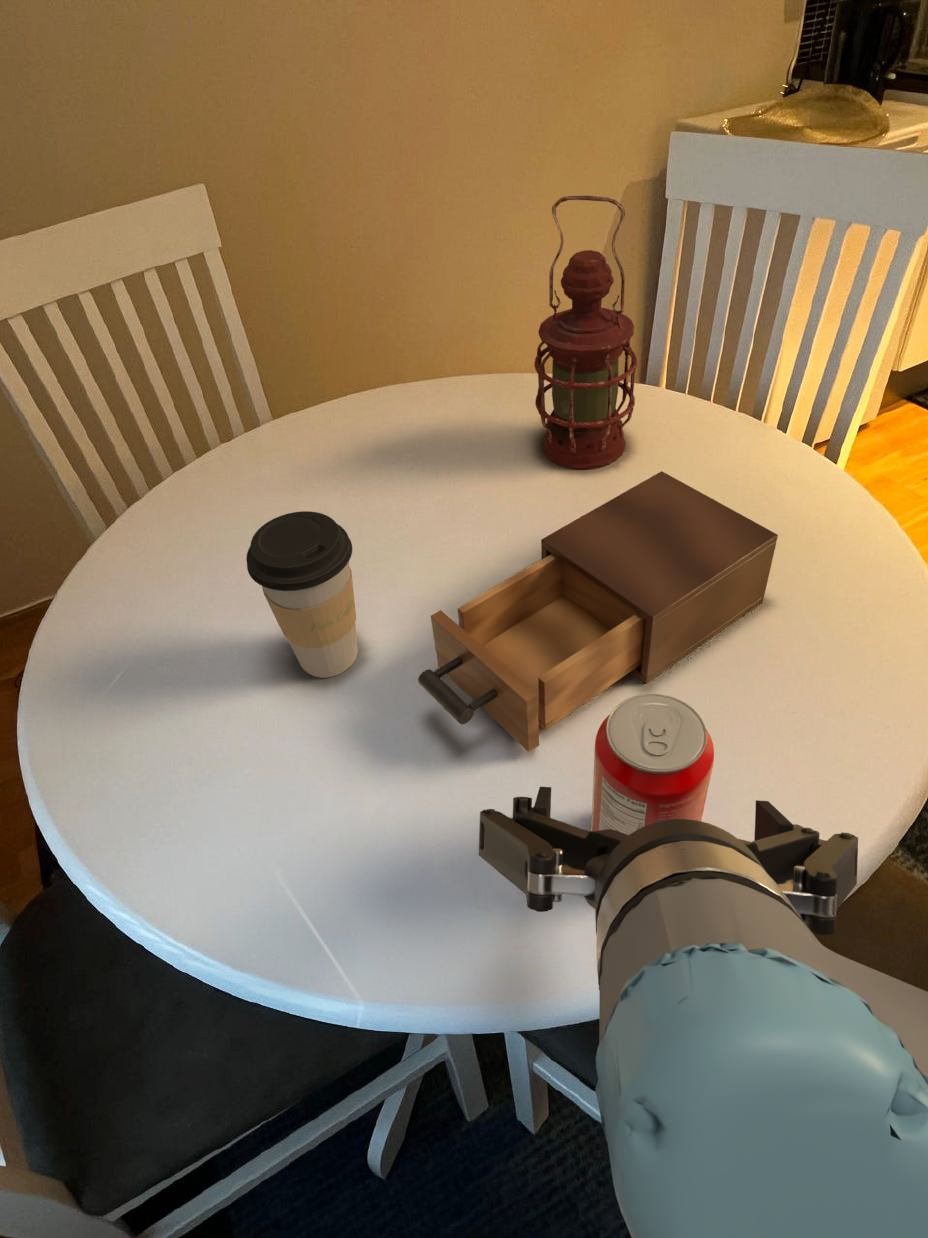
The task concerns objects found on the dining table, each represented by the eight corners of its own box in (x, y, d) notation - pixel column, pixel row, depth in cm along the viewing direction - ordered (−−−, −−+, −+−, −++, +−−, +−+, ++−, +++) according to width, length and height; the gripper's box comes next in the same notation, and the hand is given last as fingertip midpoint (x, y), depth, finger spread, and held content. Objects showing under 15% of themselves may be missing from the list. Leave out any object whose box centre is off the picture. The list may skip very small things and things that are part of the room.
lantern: (642, 427, 108) (660, 178, 88) (619, 480, 100) (633, 219, 80) (552, 416, 112) (549, 174, 91) (523, 465, 104) (513, 213, 84)
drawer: (489, 780, 70) (484, 729, 65) (400, 689, 78) (390, 638, 73) (655, 664, 77) (661, 612, 73) (559, 593, 86) (558, 541, 81)
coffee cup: (351, 699, 79) (319, 581, 68) (264, 681, 81) (220, 564, 71) (389, 631, 85) (365, 513, 75) (307, 616, 88) (273, 499, 77)
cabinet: (646, 684, 77) (653, 617, 71) (542, 604, 86) (540, 539, 80) (763, 602, 84) (778, 534, 78) (655, 535, 92) (661, 470, 86)
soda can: (587, 890, 63) (592, 774, 53) (592, 802, 68) (598, 681, 58) (694, 902, 62) (721, 785, 51) (691, 811, 67) (714, 688, 57)
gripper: (378, 999, 34) (457, 858, 55) (1038, 1067, 31) (854, 889, 52) (384, 816, 34) (461, 745, 55) (1045, 863, 31) (858, 768, 52)
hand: (651, 814), depth 53 cm, fingers open, 13 cm apart
